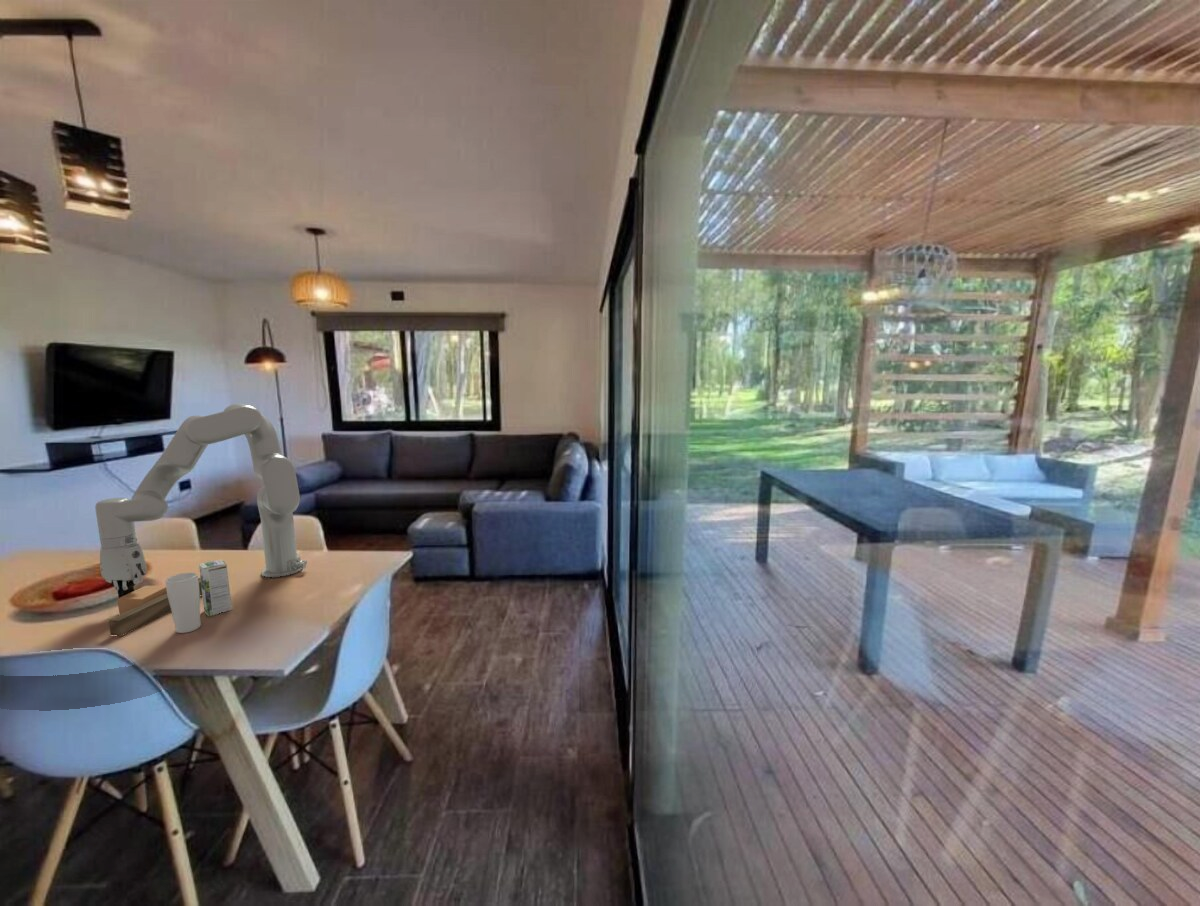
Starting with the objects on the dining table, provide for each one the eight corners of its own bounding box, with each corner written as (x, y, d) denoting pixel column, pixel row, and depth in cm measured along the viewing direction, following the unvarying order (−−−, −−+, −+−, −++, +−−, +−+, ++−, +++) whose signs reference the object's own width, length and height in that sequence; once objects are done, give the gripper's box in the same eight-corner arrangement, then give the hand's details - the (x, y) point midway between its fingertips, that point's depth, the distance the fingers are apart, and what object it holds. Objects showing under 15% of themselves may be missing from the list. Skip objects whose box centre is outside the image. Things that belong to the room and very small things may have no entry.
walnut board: (209, 591, 162) (207, 578, 162) (121, 636, 135) (118, 620, 134) (200, 591, 162) (199, 578, 162) (110, 636, 135) (108, 620, 134)
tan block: (171, 604, 153) (168, 585, 152) (144, 619, 144) (142, 599, 143) (147, 604, 153) (145, 585, 152) (120, 618, 144) (117, 598, 143)
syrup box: (203, 611, 149) (197, 564, 147) (227, 604, 153) (222, 558, 151) (208, 617, 145) (202, 568, 143) (233, 610, 150) (227, 563, 147)
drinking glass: (169, 637, 134) (161, 584, 132) (176, 626, 140) (169, 574, 138) (201, 631, 137) (194, 579, 135) (206, 621, 143) (200, 570, 141)
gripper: (155, 537, 149) (163, 596, 152) (108, 536, 151) (117, 594, 153) (129, 546, 142) (138, 608, 145) (80, 544, 143) (90, 605, 146)
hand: (127, 601), depth 149 cm, fingers closed
